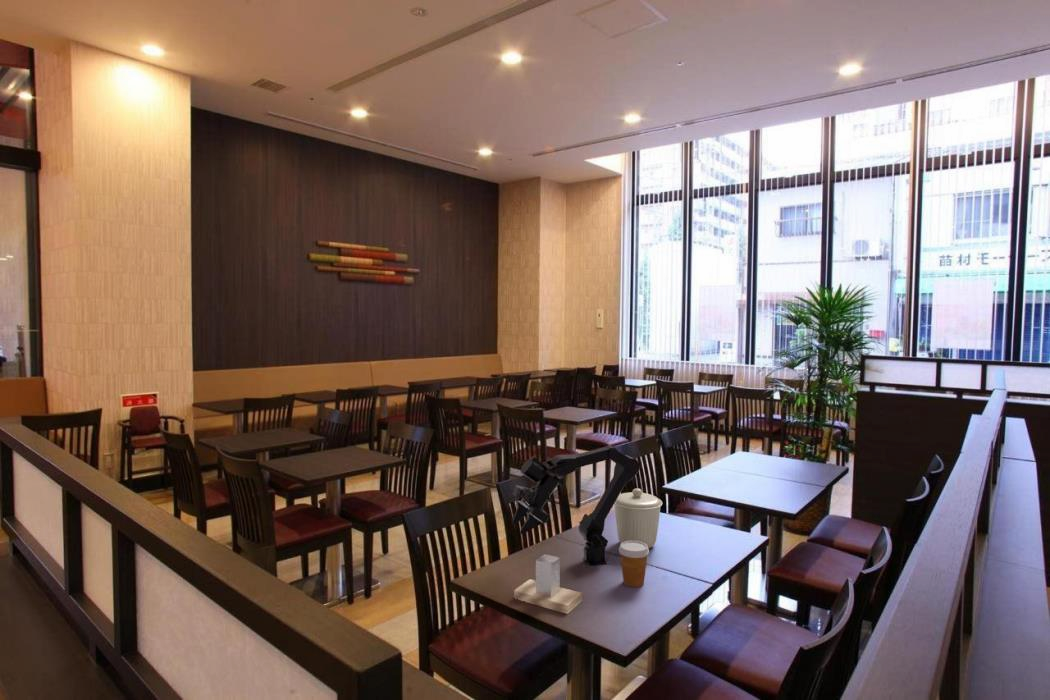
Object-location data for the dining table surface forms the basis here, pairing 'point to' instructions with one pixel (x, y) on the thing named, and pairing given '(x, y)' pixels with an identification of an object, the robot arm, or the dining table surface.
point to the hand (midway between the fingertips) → (516, 528)
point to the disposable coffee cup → (633, 562)
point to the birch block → (558, 602)
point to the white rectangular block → (547, 575)
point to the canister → (637, 517)
